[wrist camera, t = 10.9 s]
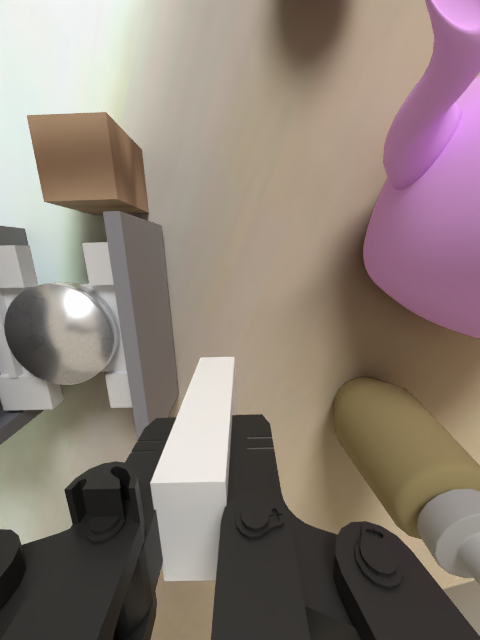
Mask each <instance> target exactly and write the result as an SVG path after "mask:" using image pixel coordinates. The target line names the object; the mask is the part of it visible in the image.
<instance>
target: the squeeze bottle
mask: <svg viewBox="0 0 480 640" xmlns="http://www.w3.org/2000/svg"><path fill="white" fill-rule="evenodd" d="M334 420H335V433H336V435H337V437H338V439H339V442H340V444H341V445H342V447H343V448H344V450H345V451H346V453H347V454H348V456H349V457H350V459H351V460H352V461H353V463H354V464H355V466H356V467H357V469H358V470H359V472H360V473H361V474H362V476H363V477H364V479H365V480H366V482H367V483H368V485H369V486H370V488H371V489H372V490H373V492H374V493H375V495H376V496H377V498H378V499H379V501H380V502H381V504H382V505H383V506H384V508H385V509H386V511H387V512H388V514H389V515H390V517H391V518H392V520H393V521H394V522H395V524H396V525H397V526H398V527H399V528H400V529H401V530H403V531H404V532H405V533H406V534H408V535H409V536H412V537H415V538H419V539H422V540H423V542H424V543H425V545H426V546H427V548H428V549H429V551H430V553H431V554H432V556H433V557H434V559H435V561H436V562H437V564H438V565H439V566H440V567H441V568H443V569H444V570H445V571H447V572H448V573H449V574H452V575H456V576H459V577H463V578H474V579H475V580H476V581H477V582H478V583H479V584H480V465H479V464H478V463H477V462H476V461H475V460H474V459H473V458H472V457H471V456H470V455H469V454H468V453H467V452H466V451H465V450H464V448H463V447H462V446H461V445H460V444H459V443H458V442H457V441H456V440H455V439H454V438H453V437H452V436H451V435H450V434H449V433H448V432H447V430H446V429H445V428H444V427H443V426H442V425H441V424H440V423H439V422H438V421H437V420H436V419H435V418H434V417H433V416H432V415H431V414H430V413H429V411H428V410H427V409H426V408H425V407H424V406H423V405H422V404H421V403H420V402H419V401H418V400H417V399H416V398H415V397H414V396H413V395H412V394H411V393H410V392H409V391H408V390H407V389H405V388H402V387H399V386H396V385H393V384H390V383H387V382H383V381H380V380H377V379H373V378H370V377H360V378H355V379H353V380H351V381H348V382H346V383H345V384H344V385H343V386H342V387H341V388H340V389H339V390H338V392H337V394H336V396H335V398H334Z"/></svg>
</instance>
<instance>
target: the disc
mask: <svg viewBox="0 0 480 640" xmlns="http://www.w3.org/2000/svg"><path fill="white" fill-rule="evenodd" d="M4 330H5V337H6V341H7V343H8V346H9V348H10V350H11V352H12V354H13V355H14V357H15V358H16V360H17V361H18V362H19V363H20V364H21V365H22V366H23V367H24V368H25V369H26V370H27V371H29V372H30V373H31V374H33V375H34V376H36V377H38V378H40V379H42V380H44V381H47V382H50V383H54V384H60V385H73V384H79V383H82V382H85V381H87V380H89V379H91V378H93V377H94V376H95V375H97V374H98V373H99V372H100V371H102V370H103V369H104V368H105V367H106V366H108V365H109V364H110V363H111V361H112V360H113V359H114V357H115V355H116V353H117V351H118V348H119V343H120V329H119V325H118V321H117V319H116V316H115V314H114V312H113V311H112V309H111V308H110V306H109V305H108V304H107V303H106V301H105V300H104V299H103V298H101V297H100V296H99V295H98V294H96V293H95V292H94V291H92V290H90V289H88V288H86V287H84V286H82V285H79V284H75V283H70V282H57V283H50V284H43V285H38V286H34V287H31V288H28V289H26V290H24V291H23V292H21V293H20V294H19V295H18V296H16V297H15V299H14V300H13V301H12V302H11V304H10V306H9V307H8V310H7V312H6V316H5V321H4Z"/></svg>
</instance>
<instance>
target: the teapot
mask: <svg viewBox="0 0 480 640" xmlns="http://www.w3.org/2000/svg"><path fill="white" fill-rule="evenodd" d="M425 1H426V5H427V9H428V12H429V15H430V19H431V23H432V28H433V33H434V47H433V54H432V57H431V60H430V63H429V66H428V67H427V69H426V71H425V73H424V75H423V76H422V77H421V79H420V80H419V82H418V83H417V84H416V86H415V87H414V88H413V90H412V91H411V92H410V94H409V95H408V97H407V98H406V100H405V102H404V103H403V105H402V106H401V108H400V110H399V111H398V113H397V114H396V116H395V118H394V121H393V123H392V125H391V127H390V130H389V132H388V135H387V137H386V141H385V145H384V155H383V163H384V167H385V170H386V173H387V176H388V178H387V180H386V182H385V184H384V186H383V188H382V190H381V193H380V195H379V197H378V199H377V202H376V205H375V207H374V210H373V212H372V215H371V218H370V222H369V225H368V228H367V232H366V236H365V241H364V247H363V258H364V264H365V268H366V270H367V273H368V275H369V276H370V278H371V279H372V280H373V282H374V283H375V284H376V285H377V286H379V287H380V288H381V289H382V290H383V291H384V292H385V293H386V294H388V295H389V296H390V297H392V298H393V299H394V300H396V301H397V302H398V303H400V304H401V305H402V306H404V307H405V308H407V309H408V310H410V311H411V312H413V313H415V314H416V315H418V316H420V317H422V318H424V319H426V320H428V321H430V322H433V323H435V324H437V325H440V326H442V327H444V328H447V329H450V330H453V331H456V332H459V333H462V334H465V335H468V336H471V337H475V338H480V76H479V77H477V78H476V79H474V78H475V77H476V76H477V74H478V73H479V71H480V0H425Z"/></svg>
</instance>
